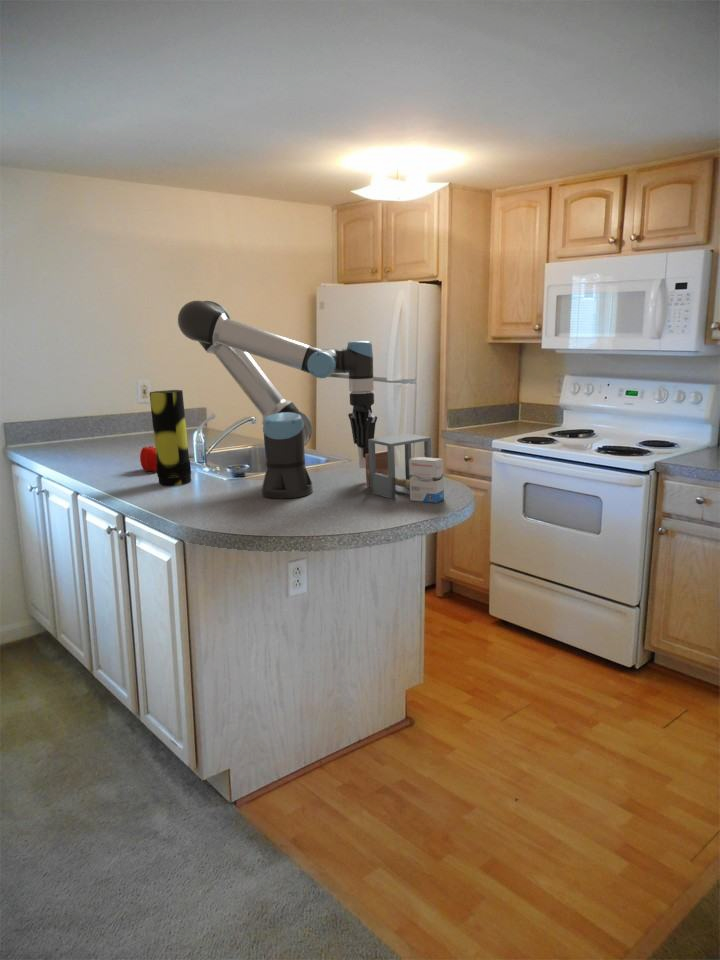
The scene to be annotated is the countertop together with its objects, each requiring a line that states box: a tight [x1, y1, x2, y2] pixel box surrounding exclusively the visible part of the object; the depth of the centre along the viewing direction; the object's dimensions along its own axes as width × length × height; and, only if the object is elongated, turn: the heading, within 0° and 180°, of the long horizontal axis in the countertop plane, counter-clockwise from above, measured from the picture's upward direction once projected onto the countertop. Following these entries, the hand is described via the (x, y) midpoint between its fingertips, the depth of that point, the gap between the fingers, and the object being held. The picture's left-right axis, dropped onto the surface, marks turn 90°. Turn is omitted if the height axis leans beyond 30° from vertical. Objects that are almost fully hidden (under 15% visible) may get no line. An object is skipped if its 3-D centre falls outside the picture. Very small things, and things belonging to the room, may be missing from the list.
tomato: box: [139, 446, 157, 473], centre depth 252 cm, size 11×12×9 cm
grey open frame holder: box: [368, 433, 432, 500], centre depth 206 cm, size 11×14×16 cm
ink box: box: [409, 456, 445, 504], centre depth 195 cm, size 8×5×12 cm, turn 56°
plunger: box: [365, 449, 410, 490], centre depth 208 cm, size 20×9×10 cm, turn 34°
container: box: [149, 389, 192, 487], centre depth 229 cm, size 11×11×30 cm
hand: (364, 467), depth 222 cm, fingers closed
